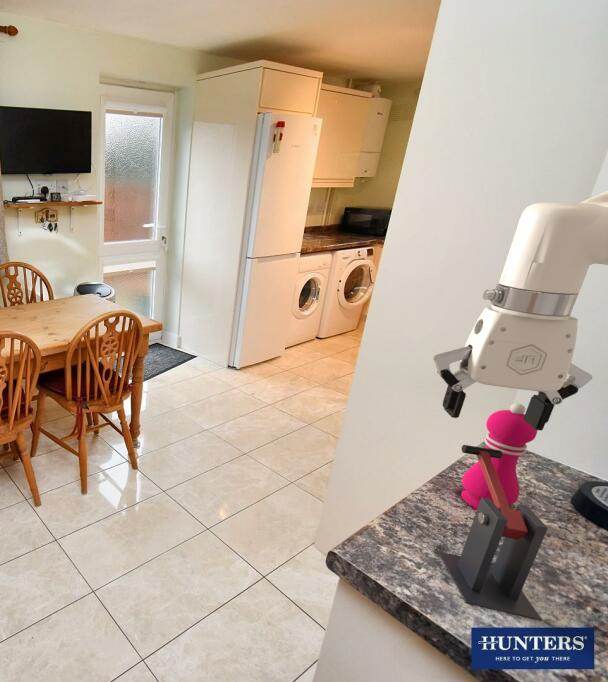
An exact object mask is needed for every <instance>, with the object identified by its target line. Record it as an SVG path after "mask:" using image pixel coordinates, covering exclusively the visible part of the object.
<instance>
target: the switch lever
mask: <svg viewBox="0 0 608 682" xmlns="http://www.w3.org/2000/svg"><path fill="white" fill-rule="evenodd" d="M461 452H462V453H463V454H468V455H474V456H476V458H477V459H478V461H479V463H480V466H481V469H482V471H483V474H484V477H485V480H486V482H487V485H488V488H489V491H490V493H491V496H492V499H493V501H494V504H495V506H496V507H497V508H498V509H499V510H500V512H501V513H502V514H503V515H504V517H505V518H506V519H507V520H508V521H507V524H506V527H505V529H504V532H503V534H502V537H501V538H505V537H506V538H511V539H516V540H519V539H520V538H521V537H522V536H523V535H525V534H526V533H527V532H528V530H527V528H526V525H525V523H524V520H523V518H522V515H521V513H520V511H517V510H516V509H511V507H510V505H509V504H508V501H507V499H506V496H505V494H504V491H503V489H502V486H501V483H500V481H499V478H498V476H497V473H496V471H495V468H494V465H493V463H492V460H491V458H490V457H492V458H499V459H500V458H502V455H503V454H502V451H501V450H495V449H489V448H486V447H481V446H474V445H469V444H463V445H461Z"/></svg>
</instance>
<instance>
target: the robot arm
mask: <svg viewBox="0 0 608 682" xmlns="http://www.w3.org/2000/svg"><path fill="white" fill-rule="evenodd" d="M511 241H512V242H511V245H510V249H509V251H508V254H507V257H506V260H505V263H504V267H503V270H502V273H501V276H500V279H499V282H498V284H496V285H495V288H492V289H485V290H484V291H483V294H482V298H483V300H485V301H487V300H488V301H490V304H491V305H487V306H485V308H484V309H483V310H482V312H481V314H480V315H479V317H478V318H477V320H476V321H475V324H474V325H473V327H472V329H471V332H470V334H469V336H468V338H467V341H466V342H465V346H463V347H459V348H455V349H453V350H449V351H446V352H442V353H438V354H435V355H434V356H433V362H434V364H435V367H436V369H437V374H438V375H439V376H440V377H441V379H442V380H443V381H444V382H445V384H446V385H447V387H446V390H445V394H444V396H443V401H442V407H443V409H444V411H445V412H446V413H447V414H448V416H450V418H453V419H458V418H459V417H460V415H461V412H462V410H463V406H464V403H465V400H466V398H467V393H466V392H465V391H464V390H465V389H467V388H469V387H470V386H472V385H473V384H475V383H478V384H481V385H486V386H492V387H498V388H499V387H500V388H508V389H516V390H525V391H532V392H537V394H533V395H532V396H531V398H530V400H529V402H528V406H527V408H526V410H525V412H524V414H525V416H524V421H525V422H527V423H528V424H529V425H531V426H532V427H533V428H534V429H536V430H537V431H543V430H544V428H545V425H546V424H547V423H548V422H549V421H550V418H551V415H552V413H553V411H554V408H555V406H557V405H561V404H562V403H563V400H565V399H567V398H569V397H572V396H574V395H576V394H578V392H579V389H582V388H583V387H584V386H585V385H586V384H588V383H589V382H590V381H592V379H593V375H592V374H590V373H589V372H587V371H585V370H584V369H582V368H581V367H578V366H576V365H575V364H573V363H572V360H573V357H574V353H575V348H576V342H577V336H578V321H579V320H578V318H576V317H573V316H571V315H572V312H573V309H574V307H575V305H576V301H577V299H578V296H579V293H580V291H581V289H582V286H583V284H584V281H585V279H586V276H587V273H588V271H589V268H590V266H591V265H594V264H595V265H596V264H597V265H605V266H608V190H607V191H604V192H602V193H599V194H597V195H594V196H593V197H589V198H587V199H585V200H583V201H581V202H563V201H562V202H560V201H559V202H558V201H555V202H554V201H553V202H552V201H551V202H550V201H548V202H547V201H545V202H535V203H532V204H531V205H528V206H527V207H525V209H524V210H523V211H522V213H521V215H520V218H519V220H518V223H517V227H516V230H515V233H514V235H513V239H512V240H511ZM455 362H459V364H458V365H459V366H458V367H459V369H458V370H456V371H455V372H454V373H453V372H452V371H451V368H450V366H451V364H453V363H455ZM568 375H569V376H568ZM567 376H568V377H567Z"/></svg>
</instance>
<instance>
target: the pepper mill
mask: <svg viewBox="0 0 608 682" xmlns="http://www.w3.org/2000/svg"><path fill="white" fill-rule="evenodd" d="M525 413H526V407H525V405H523V404H521V403H517V402H516V403H513V404H511V405H510V406H509V409H501V410H497V411H494V412H492V413H491V414H490V415H489V416H488V418H487V419H486V422H485V423H486V424H485V427H486V429H487V431H488V433H487V434H486V435H485V439H484V443H485V446H486V447H485V448H489V449H495V450H501V451H502V454H503V455H502V458H500V459H499V458H492V457H490V458H491V460H492V463H493V465H494V468H495V471H496V473H497V476H498V478H499V481H500V483H501V486H502V489H503V491H504V494H505V496H506V499H507V501H508V504H509V506H511V505H513V504H515V503H516V502H517V501H518V499H519V496H520V484H519V479H518V475H517V464H518V461H519V458H520V456H523V455H525V454H526V450H527V448H528V445H527V444H528V443H531V442H532V441H534V440H535V439H536V436H537V434H538V430H536V429H534V428H533V427H532V426H531V425H529V424H528V423H527V422H525V421H524V416H525ZM461 484H462V486H463V488H464V490H462V491H461V493H460V494H461V498H462V499H463V500H464V501H465V502H466V503H467V506H468V507H470V509H473V510H475V511H476V512H477V509H478V506H479V503H480V500H481V498H488V499H491V501H492V502H493V503H494V501H493V499H492V496H491V493H490V491H489V488H488V485H487V482H486V480H485V477H484V474H483V471H482V469H481V466H480V463H479V460H478V461H477V462H476V463H475V464H473V465H472V466H471V467H469V468H468V469H467V470H466V471H465V473H464V475H463V477H462V480H461Z"/></svg>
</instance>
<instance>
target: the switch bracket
mask: <svg viewBox="0 0 608 682" xmlns="http://www.w3.org/2000/svg"><path fill="white" fill-rule="evenodd" d="M515 510H517V511H520V513H521V515H522V518H523V520H524V523H525V525H526V528H527V530H528V532H527V533H526V534H525V535H523V536H522V537H521V538H520V539H519V540H516V539H511V538H506V537H504V539H503V541H502V544H501V547H500V549H499V552H498V555H497V557H496V560H495V561H494V562H493V560H494V558H495V555H496V553H497V550H498V547H499V544H500V543H501V539H502V538H503V537H502V534H503V532H504V529H505V527H506V524H507V521H508V520H507V519H506V518H505V517H504V515H503V514H502V513H501V512H500V510H499V509H498V508H497V507H496V506H495V504H494V503H493V502H492V501H491V499H488V498H481V500H480V503H479V506H478V509H477V511H476V512H475V515H474V517H473V520H472V523H471V525H470V528H469V531H468V533H467V534H468V535H467V537H466V540H465V543H464V546H463V548H462V551H461V555H458V554H453V553H447V552H443V551H439V550H438V551H437V554H438V556H439V558H440V559H441V561H442V563H443V564H444V566H445V568H446V570H447V572H448V574H449V576H450V577H451V579H452V582H453V583H454V585H455V587H456V589H457V590H458V593H459V594H460V596H461V598H462V600H463V602H464V603H465V604H467V605H471V606H476V607H480V608H485V609H488V610H493V611H497V612H502V613H505V614H509V615H515V616H519V617H523V618H526V619H527V618H528V619H532V620H535V621H540V622H542V621H543V619H542V617H541V616H540V615H539V613H538V612H537V610H536V609H535V607H534V605H533V604H532V603H531V601H530V600H529V599H528V597H527V596H526V594H525V593H524V592H523V588H524V586H525V584H526V581H527V578H528V576H529V574H530V572H531V569H532V567H533V564H534V562H535V559H536V558H537V555H538V552H539V550H540V548H541V545H542V543H543V541H544V539H545V536H546V534H547V532H548V527H547V525H546V524H545V523H544V522H543V521H542V519H540V518H539V517H538V516H537V514H536V513H535V512H534V511H533V510H532V509H531V508H530V506H529V505H526V504H521V503H517V506H516V509H515Z"/></svg>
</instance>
